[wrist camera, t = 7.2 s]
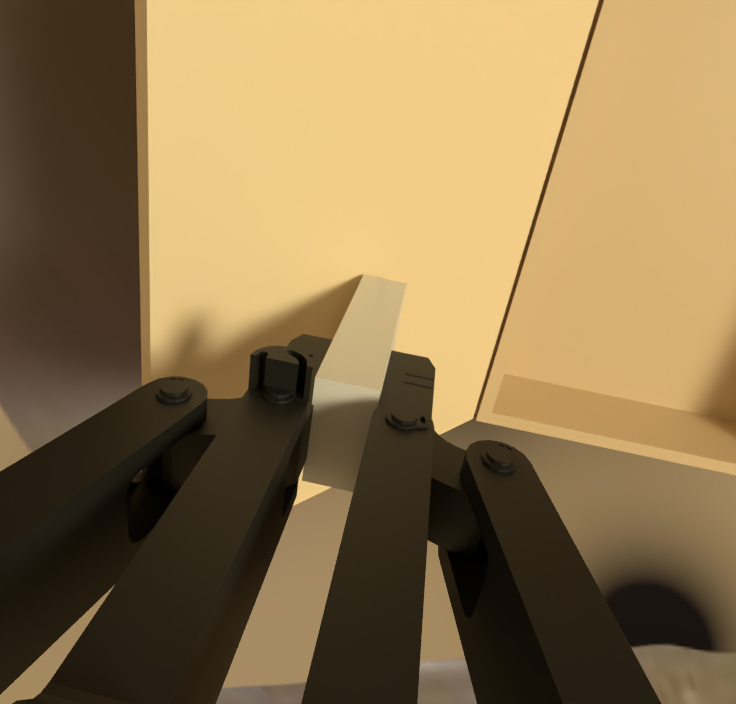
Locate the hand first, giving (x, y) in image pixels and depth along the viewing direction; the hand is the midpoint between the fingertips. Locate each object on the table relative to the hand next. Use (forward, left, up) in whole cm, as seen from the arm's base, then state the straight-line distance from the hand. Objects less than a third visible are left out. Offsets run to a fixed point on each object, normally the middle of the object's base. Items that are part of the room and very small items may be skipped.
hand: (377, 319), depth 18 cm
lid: (-4, 0, -1) cm, 4 cm away
